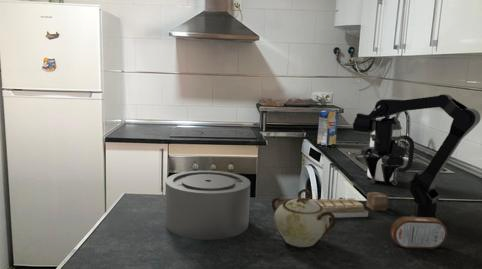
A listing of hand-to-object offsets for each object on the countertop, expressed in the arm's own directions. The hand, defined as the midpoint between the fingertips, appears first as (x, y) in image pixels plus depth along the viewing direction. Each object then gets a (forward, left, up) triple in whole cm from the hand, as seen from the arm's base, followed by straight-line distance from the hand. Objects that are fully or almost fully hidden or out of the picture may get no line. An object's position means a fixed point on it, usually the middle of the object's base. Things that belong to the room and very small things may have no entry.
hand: (379, 179), depth 147 cm
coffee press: (+34, -22, -10) cm, 42 cm away
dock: (-3, +17, -10) cm, 20 cm away
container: (-9, +61, -11) cm, 63 cm away
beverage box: (+118, -30, -10) cm, 122 cm away
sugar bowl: (-25, +37, -10) cm, 46 cm away
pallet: (-3, +17, -9) cm, 19 cm away
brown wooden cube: (0, 0, -10) cm, 10 cm away
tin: (-32, +6, -11) cm, 34 cm away
